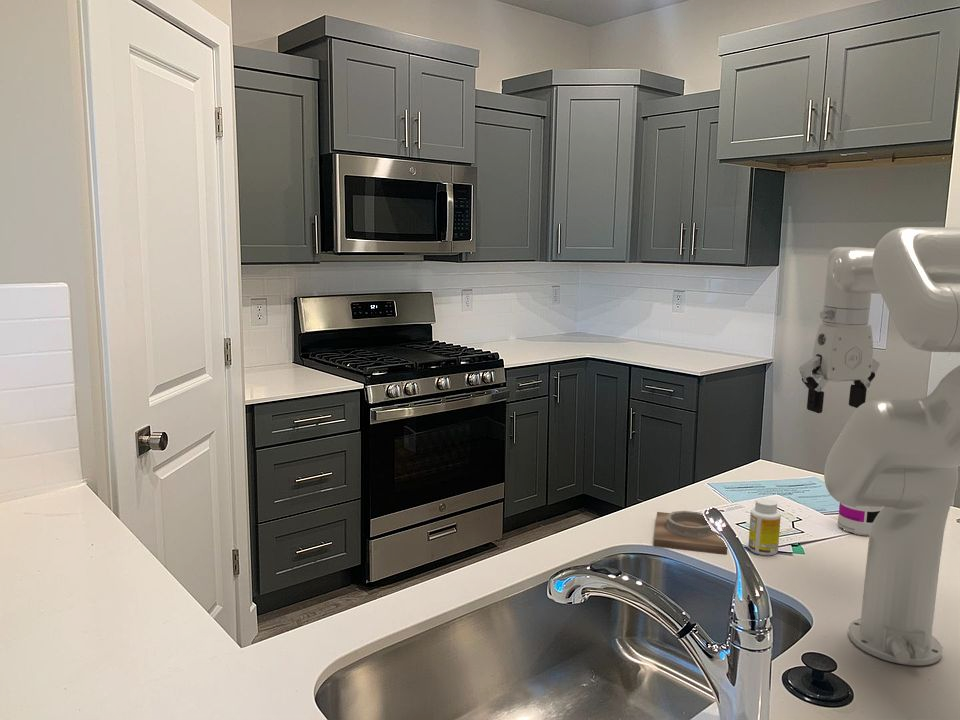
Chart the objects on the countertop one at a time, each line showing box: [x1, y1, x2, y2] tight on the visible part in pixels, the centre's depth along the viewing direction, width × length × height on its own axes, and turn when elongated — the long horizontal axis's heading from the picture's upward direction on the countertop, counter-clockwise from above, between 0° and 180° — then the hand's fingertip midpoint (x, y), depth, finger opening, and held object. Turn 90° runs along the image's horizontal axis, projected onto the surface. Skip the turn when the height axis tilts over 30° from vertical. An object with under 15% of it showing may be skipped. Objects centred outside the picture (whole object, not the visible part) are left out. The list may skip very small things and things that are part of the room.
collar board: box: [653, 510, 728, 555], centre depth 158 cm, size 16×14×4 cm
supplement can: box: [837, 502, 883, 537], centre depth 162 cm, size 8×8×15 cm
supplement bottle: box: [748, 497, 782, 556], centre depth 150 cm, size 6×6×10 cm
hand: (835, 409), depth 139 cm, fingers open, 9 cm apart
